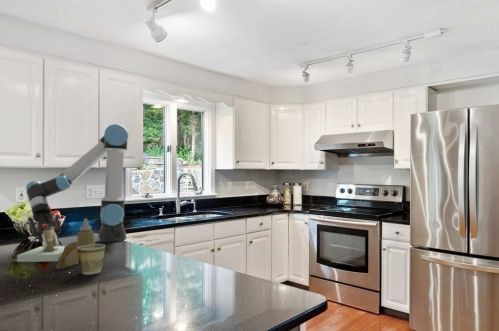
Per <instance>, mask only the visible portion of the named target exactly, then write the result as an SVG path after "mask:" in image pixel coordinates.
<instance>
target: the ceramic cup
mask: <svg viewBox="0 0 499 331" xmlns="http://www.w3.org/2000/svg"><path fill="white" fill-rule="evenodd" d="M77 250H78V255H79V263H80V266H81V267H80V268H81V273H82V274H83V275H89V276H91V275H96V274H99V273H101V272H102V267H103V261H104V256H105V253H106V252H105V251H106V245H105V244H103V243H102V244H101V243H95V244H91V245H84V246H80V247H78V248H77Z"/></svg>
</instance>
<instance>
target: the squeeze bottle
mask: <svg viewBox="0 0 499 331" xmlns="http://www.w3.org/2000/svg"><path fill="white" fill-rule="evenodd" d="M76 242H78V244H79V247H80V246H84V245H91V244H96V242H95V233H94V231H93V230H92V225H89V221H88V218H87V217H86V218H83V222H82V226H80V227H79V231H78V232H77V240H76ZM78 257H79V255H78Z"/></svg>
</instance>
